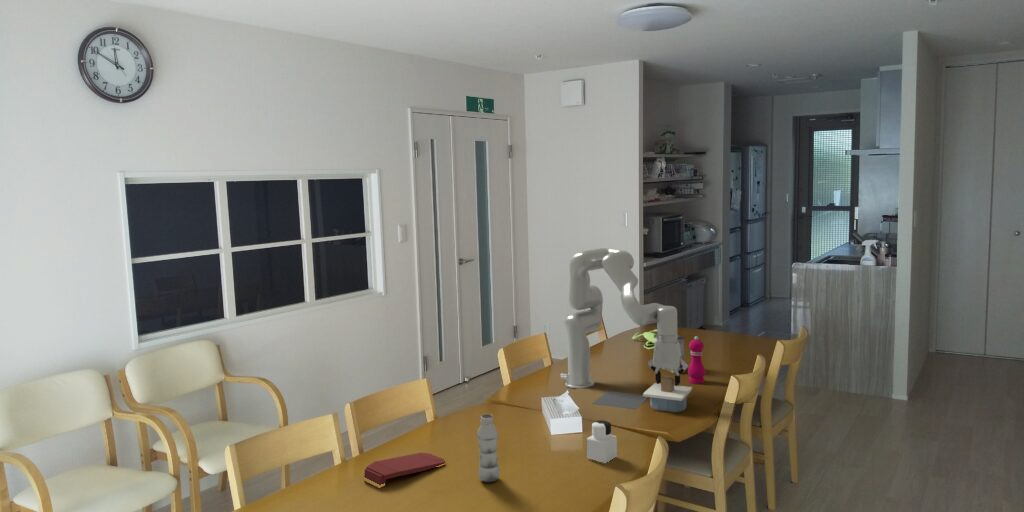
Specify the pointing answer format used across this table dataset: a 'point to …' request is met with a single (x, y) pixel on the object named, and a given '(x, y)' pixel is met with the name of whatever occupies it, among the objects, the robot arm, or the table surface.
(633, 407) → the mat
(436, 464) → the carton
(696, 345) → the pepper mill
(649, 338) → the figurine
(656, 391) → the cover
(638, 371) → the table surface
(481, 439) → the plastic bottle
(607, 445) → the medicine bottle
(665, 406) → the bowl
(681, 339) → the coffee box
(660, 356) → the robot arm
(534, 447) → the table surface
